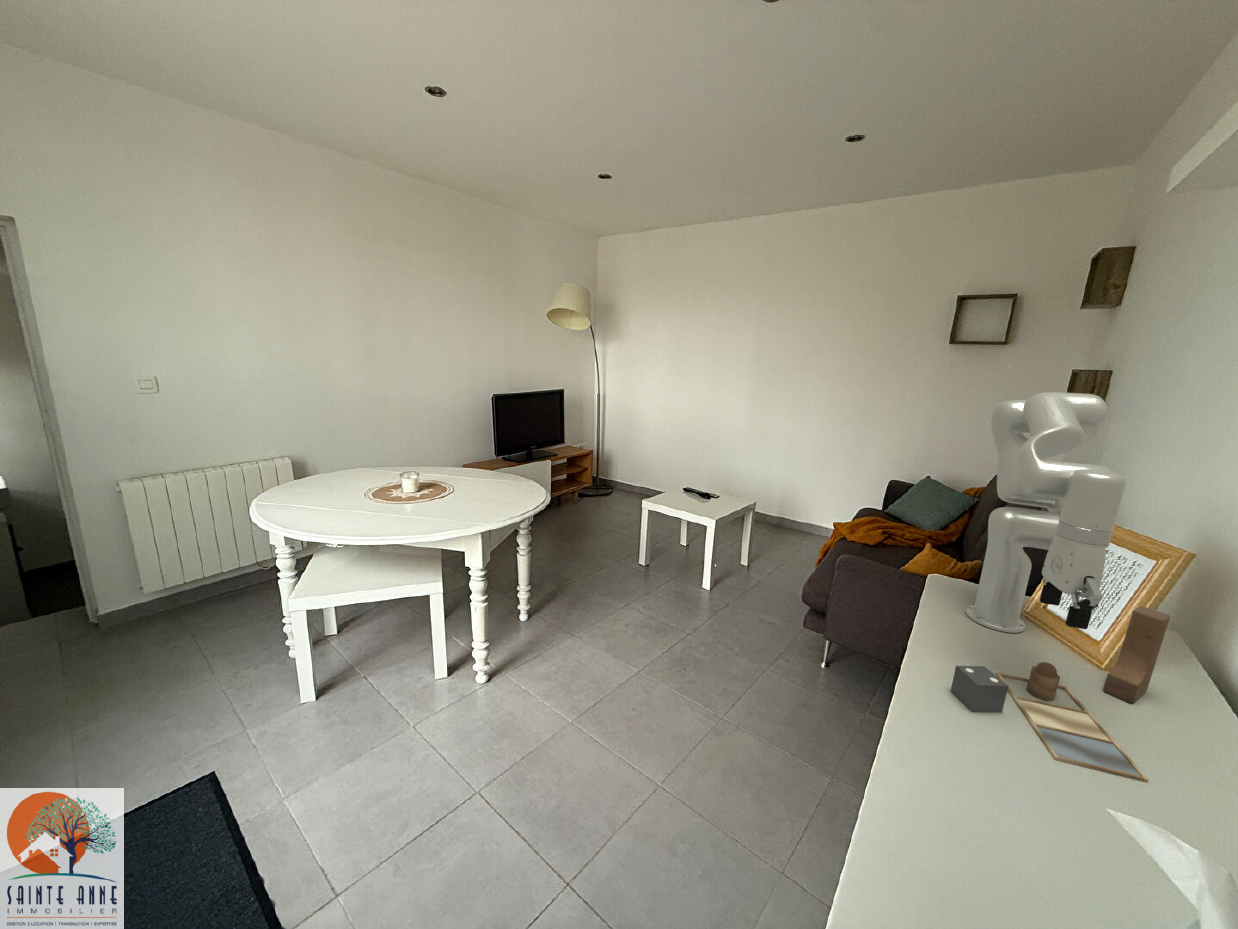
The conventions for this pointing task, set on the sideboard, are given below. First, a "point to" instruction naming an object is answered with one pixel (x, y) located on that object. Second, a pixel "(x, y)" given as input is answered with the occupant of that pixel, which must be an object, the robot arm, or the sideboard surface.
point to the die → (979, 689)
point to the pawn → (1043, 681)
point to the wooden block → (1137, 655)
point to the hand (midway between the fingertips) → (1061, 614)
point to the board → (1075, 735)
